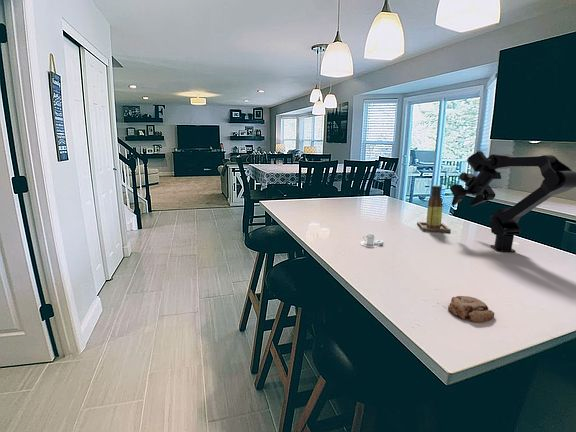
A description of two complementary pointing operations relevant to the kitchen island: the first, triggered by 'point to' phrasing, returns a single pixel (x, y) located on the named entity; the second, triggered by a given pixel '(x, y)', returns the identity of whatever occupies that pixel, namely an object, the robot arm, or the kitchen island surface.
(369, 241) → the teacup and saucer
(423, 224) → the square brown tray
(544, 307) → the kitchen island surface
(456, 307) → the cookie
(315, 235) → the kitchen island surface
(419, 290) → the kitchen island surface
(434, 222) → the sauce bottle
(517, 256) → the kitchen island surface
